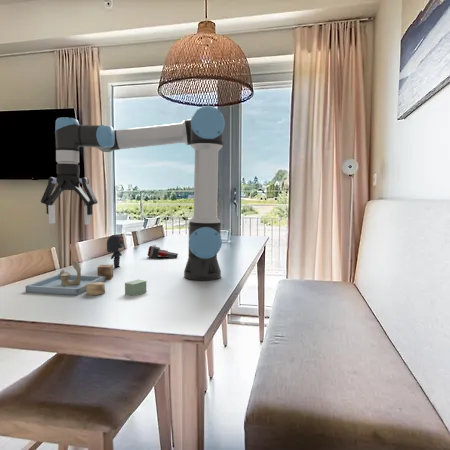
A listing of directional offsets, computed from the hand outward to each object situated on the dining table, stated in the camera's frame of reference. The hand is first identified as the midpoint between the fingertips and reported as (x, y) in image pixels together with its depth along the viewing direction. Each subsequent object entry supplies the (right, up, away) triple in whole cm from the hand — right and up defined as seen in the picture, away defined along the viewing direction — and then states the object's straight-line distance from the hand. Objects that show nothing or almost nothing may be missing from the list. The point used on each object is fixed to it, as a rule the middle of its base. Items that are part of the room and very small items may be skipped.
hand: (69, 223), depth 131 cm
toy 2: (+23, -18, +63) cm, 69 cm away
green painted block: (+25, -24, -6) cm, 35 cm away
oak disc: (+12, -23, -7) cm, 27 cm away
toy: (+6, -20, +36) cm, 41 cm away
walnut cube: (+8, -22, +15) cm, 27 cm away
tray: (-1, -23, +1) cm, 23 cm away
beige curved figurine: (-1, -22, +1) cm, 22 cm away
